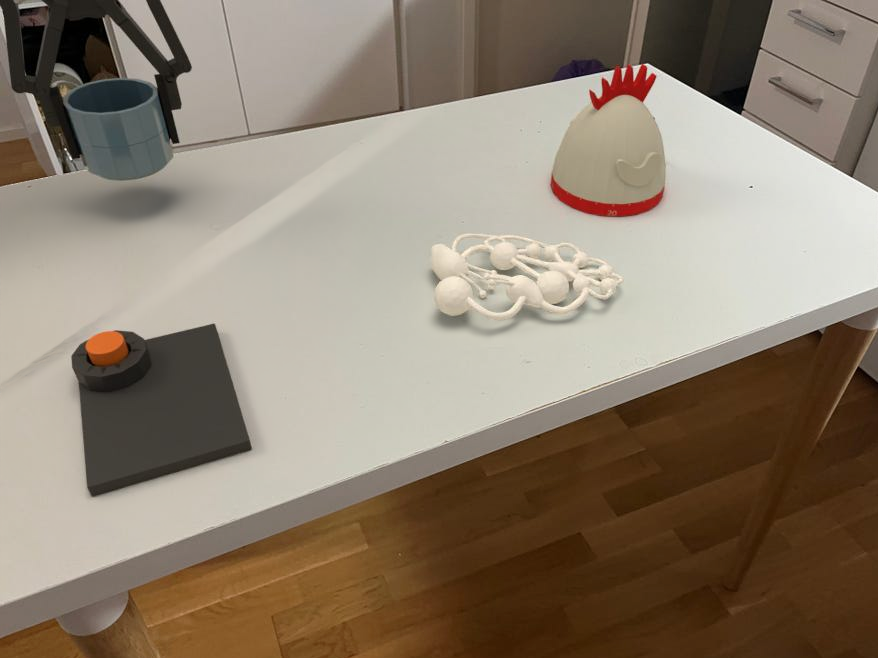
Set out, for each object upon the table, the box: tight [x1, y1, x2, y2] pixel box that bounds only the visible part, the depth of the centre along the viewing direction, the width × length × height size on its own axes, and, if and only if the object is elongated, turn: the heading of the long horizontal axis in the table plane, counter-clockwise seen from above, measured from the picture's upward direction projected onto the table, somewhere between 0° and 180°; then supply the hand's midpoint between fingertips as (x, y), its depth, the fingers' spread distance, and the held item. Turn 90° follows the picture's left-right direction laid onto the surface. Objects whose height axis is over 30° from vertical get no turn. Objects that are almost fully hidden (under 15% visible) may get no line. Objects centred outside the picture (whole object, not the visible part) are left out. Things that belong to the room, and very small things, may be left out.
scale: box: [70, 323, 253, 497], centre depth 63 cm, size 16×12×3 cm
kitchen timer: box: [550, 63, 667, 218], centre depth 89 cm, size 14×14×15 cm
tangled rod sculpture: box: [429, 233, 625, 321], centre depth 77 cm, size 19×14×4 cm
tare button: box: [86, 330, 128, 367], centre depth 64 cm, size 3×3×2 cm
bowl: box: [62, 77, 175, 181], centre depth 79 cm, size 9×9×8 cm
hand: (126, 145), depth 80 cm, fingers closed on bowl, 9 cm apart
